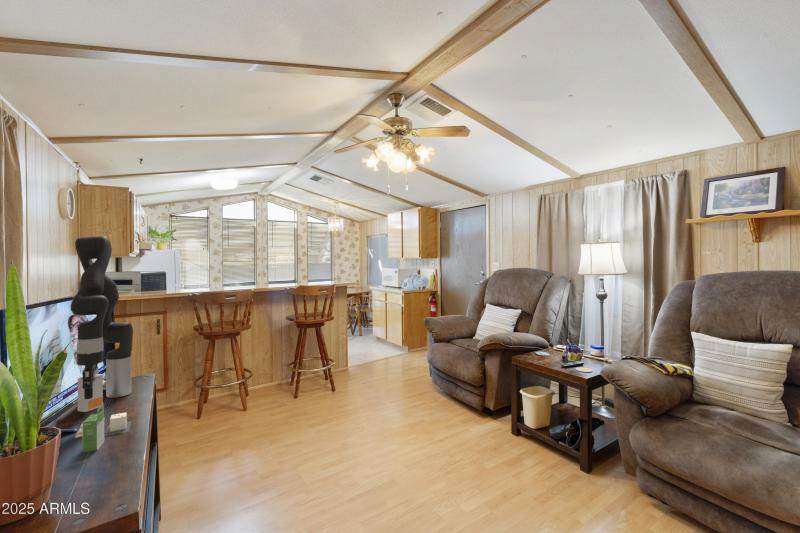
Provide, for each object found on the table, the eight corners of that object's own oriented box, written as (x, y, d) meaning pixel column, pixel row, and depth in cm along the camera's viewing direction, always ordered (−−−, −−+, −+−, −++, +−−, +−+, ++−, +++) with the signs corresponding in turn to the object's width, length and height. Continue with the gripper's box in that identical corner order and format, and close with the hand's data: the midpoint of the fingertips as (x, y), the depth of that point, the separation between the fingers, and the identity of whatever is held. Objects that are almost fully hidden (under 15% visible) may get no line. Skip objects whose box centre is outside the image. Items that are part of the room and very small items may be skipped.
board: (82, 423, 140) (82, 421, 140) (105, 419, 143) (105, 417, 143) (74, 439, 127) (74, 437, 127) (100, 434, 131) (100, 432, 131)
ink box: (90, 443, 124) (90, 404, 124) (104, 441, 126) (104, 402, 126) (82, 453, 118) (81, 411, 118) (97, 451, 120) (97, 409, 119)
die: (111, 426, 136) (111, 414, 136) (126, 424, 139) (126, 412, 139) (110, 431, 132) (110, 419, 132) (125, 428, 135) (125, 416, 135)
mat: (108, 426, 137) (108, 425, 137) (131, 422, 141) (131, 421, 141) (104, 437, 129) (104, 436, 129) (129, 432, 133) (129, 431, 133)
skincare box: (86, 412, 132) (86, 379, 132) (77, 411, 133) (77, 378, 132) (103, 405, 138) (103, 374, 137) (94, 405, 138) (94, 373, 138)
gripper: (80, 347, 139) (80, 391, 139) (72, 355, 127) (72, 403, 127) (106, 345, 143) (106, 387, 143) (100, 353, 131) (100, 399, 131)
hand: (90, 395), depth 135 cm, fingers closed on skincare box, 7 cm apart
